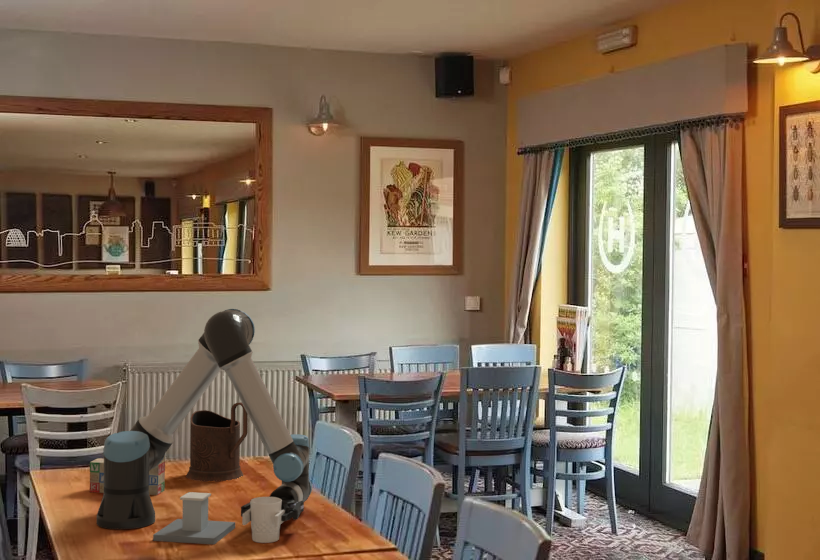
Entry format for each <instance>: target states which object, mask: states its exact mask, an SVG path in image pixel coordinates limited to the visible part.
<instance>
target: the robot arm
mask: <svg viewBox="0 0 820 560" xmlns="http://www.w3.org/2000/svg"><path fill="white" fill-rule="evenodd" d="M255 333H256V328H255V323H254V321H253V319H252V317H251V316H250V315H249V314H247V313H246V312H245V311H243V310H240V309H238V308H237V309H236V308H228V309H224V310H223V311H222V310H221V311H218V312H216V313H215V314H213V315H212V316H211V317H209V319H208V320H207V321H206V323H205V326H204V332H203V333H202V335H201V336H200V337H199V339H198V340H197V342H198V349H197V350H196V352H195V353H194V354H193V355H192V357H191V358H190V360H189V361H188V362H187V364H185V366H184V367H183V369H182V370H181V371H180V373H179V374H178V376H177V377H176V378H175V379H174V381H173V382H172V383H171V385H170V386H169V387H168V389H167V390H166V391H165V393H164V394H163V395H162V397H160V399H159V401H158V402H157V403H156V405H155V406H154V407H153V408H152V410H151V411H150V413H148V415H145V416H140V417H139V418H138V419H137V420H136V422H135V424H134V425H133V426H132V427H131V429H130V430H126V431H125V430H124V431H118V432H113V434H112V433H111V434H110V435H109V436H107V437H106V438H105V439H104V442H103V444H104V445H103V449H102V450H103V451H102V453H103V459H104V493H103V496H102V498H101V502H100V503H99V508H98V510H97V513H96V525H97V526H98V527H100V528H103V529H108V530H109V529H110V530H132V529H139V528H145V527H147V526H150V525H152V524H154V523H155V522H156V511H155V508H154V507H155V506H154V504H153V501H152V498H151V495H149V471H150V470H151V469H153V468H154V467H156V466H157V465H158V464H159V463H160V462H161V461H162V460H163V458H164V456H165V457H166V453H167V451H168V450H169V449H170V447H172V444H174V442H175V438H174V433H175V432H176V430H177V429H178V428H179V427H180V425H181V424H182V423H183V422H184V420H185V419H186V417H187V416H188V415H189V414H190V412H191V411H192V409H193V408H194V407H195V405H197V403H198V401H199V400H200V399H201V397H202V396H203V395H204V394H205V392H206V391H207V389H208V388H209V387H210V385H212V383H213V382H214V380H215V379H216V378H217V377H218V375H219V374H220V372H221V371H225V373H226V375H227V377H228V379H229V380H230V382H231V384H232V386H233V388H234V391H235V392H236V394H237V396H238V398H239V400H240V402H242V404H243V406H244V408H245V410H246V412H247V414H248V418H249V419H250V421H251V423H252V425H253V427H254V430H255V431H256V433H257V435H258V437H259V439H260V441H261V443H262V445H263V447H264V448H265V450H266V453H267V454H268V456H269V459H270V460H271V463H272V465H273V467H272V468H273V473H274V475H275V476H276V478H277V479H278V480H279V481H281V485H279V486H278V487H276V489H274V490H273V491H272V492H270V494H269V496H268V497H277V498H280V499H281V500H282V505H281V511H280V512H279V513H278V514H277V515H275V527H278V526H279V525H280V526H281V524H283V523H284V522H287V521H290V520H291V519H292V520H293V521H297V520H298V519H299V518H300V515H301V513H302V512H304V510H305V502H306V501H308V499H309V497H310V496H311V494H312V492H313V484H312V482H311V480H310V478H309V477H310V475H309V474H310V473H309V470H310V469H309V468H310V467H309V463H310V439H309V437H308V435H305V434H301V433H300V434H298V433H296V434H295V433H293V434H290V431H289V429H288V427H287V426H286V423H285V421H284V420H283V417H282V416H281V413H280V412H279V410H278V407H277V406H276V404H275V402H274V400H273V398H272V396H271V394H270V392H269V390H268V388H267V386H266V384H265V382H264V381H263V379H262V376H261V374H260V373H259V370H258V369H257V366H256V365H255V362H254V361H253V359H252V355H253V351H252V349H251V346H250V345H251V343H252V342H253V340H254V337H255ZM240 516H241V518H242V521H241V522H242V526H246V525H247V524H249V523H251V507H250V502H247V503H246V504H244V505H242V506H240Z"/></svg>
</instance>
